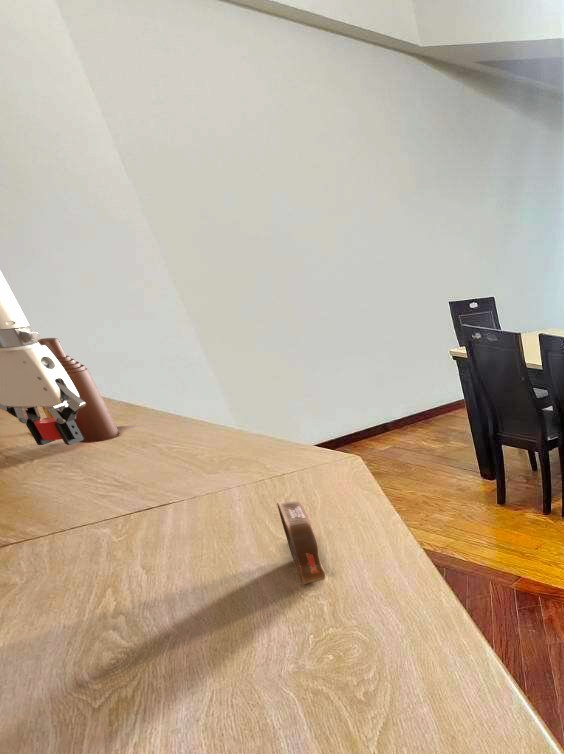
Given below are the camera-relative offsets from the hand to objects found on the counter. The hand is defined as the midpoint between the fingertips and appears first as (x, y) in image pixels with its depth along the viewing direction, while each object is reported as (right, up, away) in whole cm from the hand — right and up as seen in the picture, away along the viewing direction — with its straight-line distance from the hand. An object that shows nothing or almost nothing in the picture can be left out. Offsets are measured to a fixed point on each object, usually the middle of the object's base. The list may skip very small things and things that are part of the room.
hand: (61, 441), depth 109 cm
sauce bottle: (-3, +3, +9) cm, 10 cm away
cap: (0, +1, 0) cm, 1 cm away
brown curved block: (+68, -23, -29) cm, 77 cm away
